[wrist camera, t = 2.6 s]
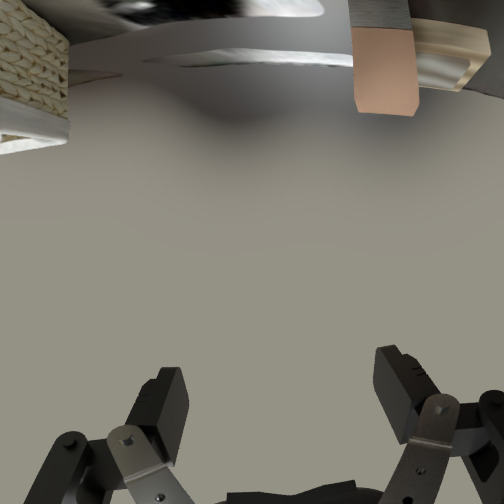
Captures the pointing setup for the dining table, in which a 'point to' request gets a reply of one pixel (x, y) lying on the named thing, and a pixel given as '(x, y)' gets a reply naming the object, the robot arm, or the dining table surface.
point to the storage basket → (31, 80)
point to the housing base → (380, 14)
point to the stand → (448, 53)
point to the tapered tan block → (385, 71)
